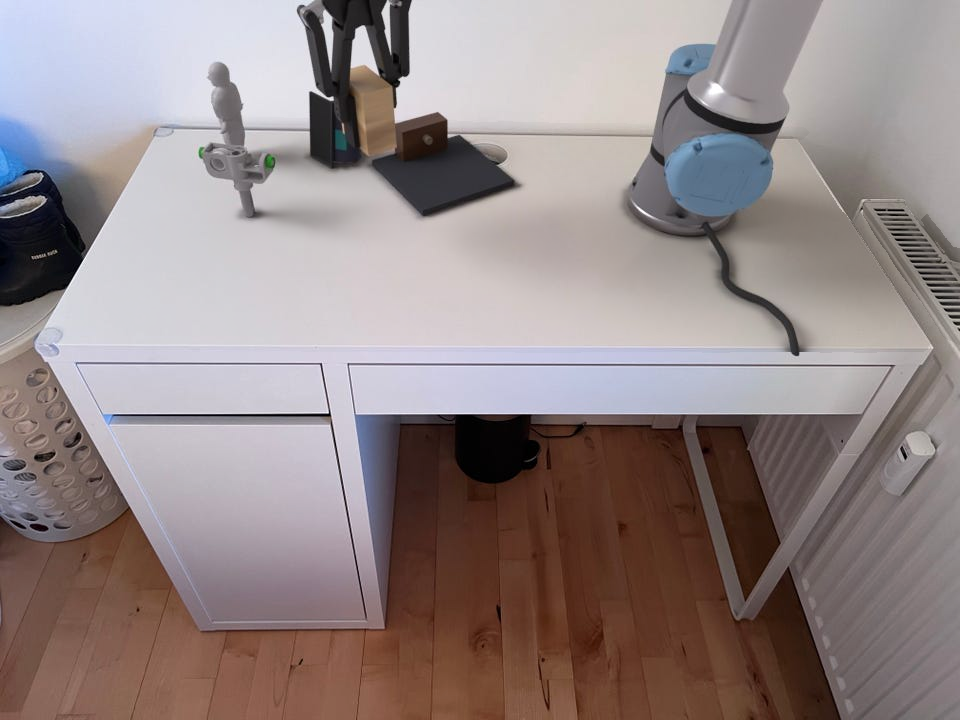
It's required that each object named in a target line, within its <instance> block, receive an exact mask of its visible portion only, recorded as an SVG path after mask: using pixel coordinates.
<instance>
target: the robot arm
mask: <svg viewBox="0 0 960 720" xmlns="http://www.w3.org/2000/svg"><path fill="white" fill-rule="evenodd" d="M387 2H388V3H389V35H390V37H389V39H390V46H389V43H388V39H387V35H386V24H385V20H384V17H383V13H382V12H383V11H384V8H385V6H386V4H387ZM412 2H413V0H313V1H311V2H310V3H308V4H307V5H305V4H299V5H298V6H297V7H296V13H297V16H298V17H299V19H300V21H301V23H302V24H303V26H304V30H305V35H306V40H307V46H308V50H309V57H310V62H311V67H312V74H313V78H314V84H315V88H316V89H317V90H318V91H319V92H320V93H321V94H323V95H324V96H325V98H327V99H328V98H333V101H334V107H335V114H336V117H337V119H338V120H340V121H341V122H342V123H343V125H344V133H345V140H346V141H347V142H348V143H350V144H351V145H352V146H353V147H354V148H355V149H356V148H359V147H360V141H359V132H358V123H357V114H356V105H355V97H354V96H352V95H351V94H350V93H349V83H350V69H351V68H352V67H351V66H352V54H353V41H354V40H355V38H356V30H357V29H359V28H360V27H362V26H363V27H364V28H365V30H366V34H367V37H368V40H369V44H370V48H371V51H372V55H373V58H374V63H375V65H376V69H377V74H378V76H380V77H381V78H382V79H384V80H385V81H386V82H387V83H389V84H390V85H391V86H392V89H393V103H394V109H397V105H398V100H397V99H398V98H397V97H398V96H397V89H398V88H399V87H400V86H401V80H400V79H401V78H407V77H408V76H409V75H410V72H411V64H410V63H411V62H410V61H411V60H410V59H411V57H410V13H409V12H410V9H411V5H412ZM823 2H824V0H731V3H730V5H729V8H728V10H727V13H726V16H725V19H724V22H723V24H722V27H721V31H720V33H719V35H718V37H717V38H718V39H717V41H716V43H692V44H686V45H682V46H680V47H677V48H676V49H674V51H672V52H671V54H670V56H669V59H668V63H667V66H666V68H665V69H664V74H665V76H664V82H663V86H662V92H661V96H660V100H659V105H658V110H657V114H656V119H655V124H654V129H653V133H652V138H651V144H650V148H649V152H648V153H647V156H646V157H645V159H644V160H643V162H642V163H641V166H640V167H639V169H638V170H637V172H636V174H635V176H634V177H633V179H632V180H631V182H630V185H629V187H628V193H627V197H626V198H627V199H626V201H627V206H628V209H629V210H630V212H631V213H632V214H633V216H635V218H637V219H638V220H639V221H641V222H642V223H643V224H645V225H647V226H648V227H651V228H653V229H656V230H657V231H661V232H664V233H667V234H672V235H679V236H705V235H706V236H707V237H708V239H709V241H710V243H711V245H712V246H713V248H714V249H715V251H716V252H717V254H718V256H719V258H720V260H721V272H720V277H721V281H722V283H723V286H725V288H726V289H728V290H729V291H730V292H731V293H732V294H734V295H736V296H738V297H740V298H742V299H745V300H747V301H750V302H752V303H755V304H757V305H759V306H761V307H763V308H764V309H765V310H767V311H768V312H769V313H771V314H772V315H773V316H774V317H775V318H776V319H777V320H778V321H779V322H780V323H781V324H782V326H783V328H784V329H785V332H786V334H787V335H786V336H787V338H788V342H789V348H790V353H791V355H793V356H794V357H799V356H800V346H799V340H798V337H797V333H796V330H795V327H794V325H793V323H792V322H791V319H789V317H788V316H787V315H786V314H785V313H784V312H783V311H782V310H780V308H779V307H777V306H776V305H775V304H773V302H771V301H769V300H768V299H766V298H764V297H762V296H760V295H758V294H756V293H753V292H750V291H747V290H745V289H743V288H741V287H739V286H738V285H736V284H734V282H733V281H732V280H731V278H730V266H731V265H730V260H729V256H728V254H727V252H726V250H725V248H724V246H723V245H722V243H721V241H720V240H719V239H718V237H717V235H716V232H717V231H719V230H721V229H723V228H724V227H726V225H727V224H728V223H730V220H731V217H732V215H733V214H735V212H739V211H743V210H746V209H748V208H749V207H751V206H752V205H754V204H755V203H757V201H758V200H760V199H761V198H762V197H763V195H764V194H765V193H766V191H768V188H769V187H770V184H771V182H772V178H773V171H774V159H773V157H772V154H771V152H772V150H773V147H774V145H775V143H776V141H777V138H778V136H779V134H780V132H781V130H782V127H783V125H784V123H785V121H786V119H787V116H788V114H789V113H790V112H789V111H790V109H791V108H790V103H789V102H788V99H787V98H786V95H785V93H784V89H785V87H786V85H787V83H788V80H789V79H790V76H791V74H792V71H793V69H794V67H795V65H796V62H797V60H798V58H799V55H800V54H801V51H802V49H803V48H804V45H805V42H806V40H807V37H808V35H809V33H810V31H811V30H812V27H813V24H814V22H815V20H816V18H817V16H818V14H819V12H820V9H821V7H822V4H823ZM324 11H326V12H327V13H328V14H329V16H330V17H331V30H332V33H333V34H332V35H333V36H332V49H331V50H332V51H331V64H330V58H329V52H328V47H327V46H328V45H327V40H326V35H325V30H324V28H323V24H324V23H325V19H324V18H325V17H324Z"/></svg>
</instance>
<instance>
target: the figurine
mask: <svg viewBox="0 0 960 720" xmlns="http://www.w3.org/2000/svg"><path fill="white" fill-rule="evenodd" d="M230 75H231V74H230V69H229V67H228V66H227V65H226V64H225V63H223V62H221V61H214V62H212V63H211V64H210V65H209V67H208V74H207V76H206V79H208V80H209V81H210V84H211V85H212V86H213V87H215V88H213V90H212V92H211V94H210V95H211V98H210V102H211V104H212V109H213V112H214V114H215V116H216V118H217V119H218V123H219V125H220V128H221V130H220V132H219V133H220V134H221V135H222V139H223V143H224V144H227V145H235V146H237V145H238V146H244V147H245V143H246V141H245V140H246V131H245V126H244V122H243V118H242V117H243V115H242V110H243V108H244V103H243V102H242V98H241V94H240V91H239V89H238V87H237V85H236V84H235V83H234V82H232V81H231V76H230Z"/></svg>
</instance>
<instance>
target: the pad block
mask: <svg viewBox="0 0 960 720" xmlns="http://www.w3.org/2000/svg"><path fill="white" fill-rule="evenodd" d="M349 93H350V94H351V95H352V96H354V97H355V105H356V114H357V123H358V132H359V141H360V147H359V148H360V149H361V152H363V153H364V154H365V155H366V156H367V157H372V156H374V155H375V156H376V155H379V154H381V153H384V152H388V151H391V150H395V148H397V144H396V130H395V123H396V119H395V108H394V103H393V89H392V86H391V85H390V84H389V83H387V82H386V81H385V80H384V79H382V78H381V77H380V76H379V74H378V73H376V72H375V71H373V70H372V69H371V68H369V66H367V65H366V64H361V65H359V66H354V67H351V69H350V83H349ZM342 128H343V133H344V125H343V123H342ZM344 134H345V133H344Z"/></svg>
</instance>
